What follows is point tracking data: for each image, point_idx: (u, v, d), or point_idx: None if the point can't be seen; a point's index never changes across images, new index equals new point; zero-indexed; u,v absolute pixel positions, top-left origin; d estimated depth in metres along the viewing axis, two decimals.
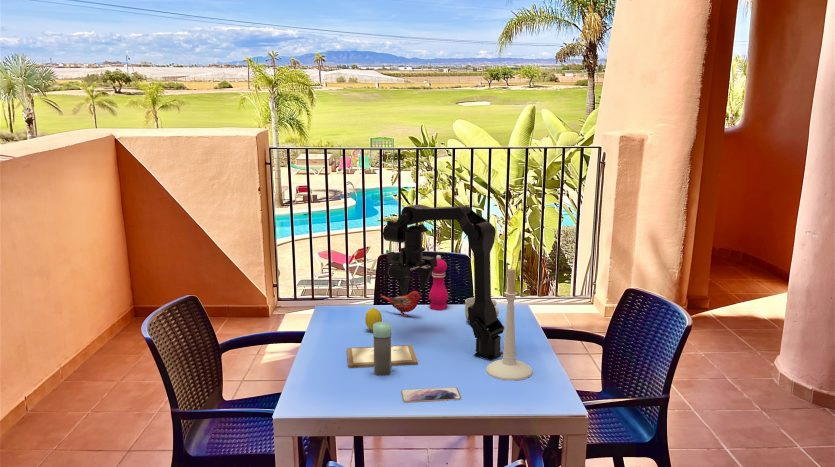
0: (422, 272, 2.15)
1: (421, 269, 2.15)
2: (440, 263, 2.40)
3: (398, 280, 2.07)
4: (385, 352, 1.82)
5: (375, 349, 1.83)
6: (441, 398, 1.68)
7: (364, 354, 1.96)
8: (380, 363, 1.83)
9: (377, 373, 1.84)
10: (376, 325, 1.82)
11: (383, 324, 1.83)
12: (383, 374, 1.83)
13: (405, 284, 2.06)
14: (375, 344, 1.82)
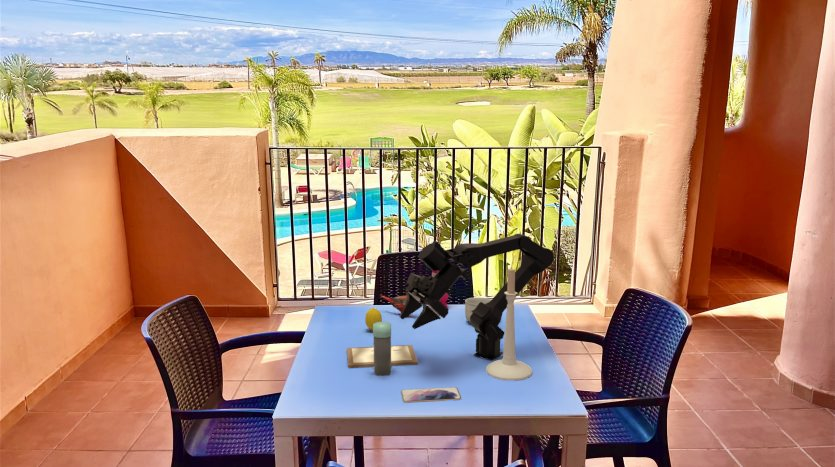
0: (413, 303, 1.91)
1: (414, 299, 1.91)
2: None
3: (425, 313, 1.81)
4: (385, 352, 1.82)
5: (375, 349, 1.83)
6: (441, 398, 1.68)
7: (364, 354, 1.96)
8: (380, 363, 1.83)
9: (377, 373, 1.84)
10: (376, 325, 1.82)
11: (383, 324, 1.83)
12: (383, 374, 1.83)
13: (429, 321, 1.82)
14: (375, 344, 1.82)
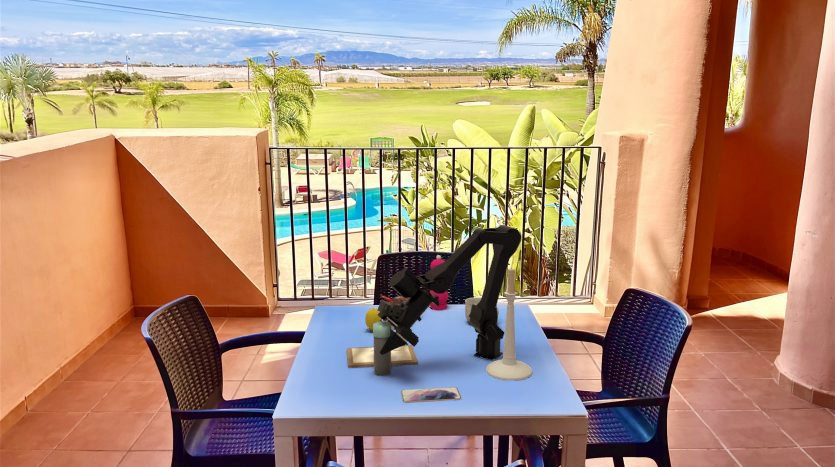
0: None
1: None
2: (440, 263, 2.40)
3: (392, 339, 1.80)
4: None
5: (375, 349, 1.83)
6: (441, 398, 1.68)
7: (364, 354, 1.96)
8: (380, 363, 1.83)
9: (377, 373, 1.84)
10: (376, 325, 1.82)
11: (383, 324, 1.83)
12: (383, 374, 1.83)
13: (396, 347, 1.81)
14: (375, 344, 1.82)
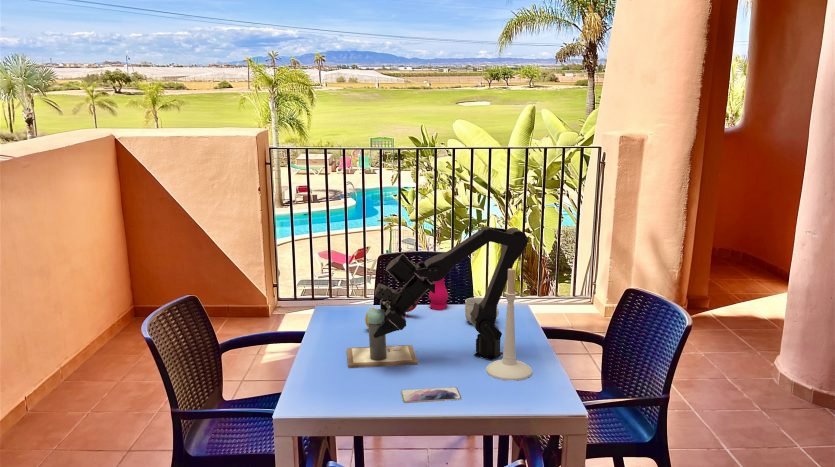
0: (385, 312, 1.97)
1: (385, 309, 1.97)
2: None
3: (384, 323, 1.86)
4: (378, 338, 1.90)
5: (369, 334, 1.91)
6: (441, 398, 1.68)
7: (364, 354, 1.96)
8: (373, 348, 1.91)
9: (371, 358, 1.92)
10: (370, 312, 1.91)
11: (377, 311, 1.91)
12: (377, 359, 1.91)
13: (389, 331, 1.86)
14: (369, 330, 1.91)
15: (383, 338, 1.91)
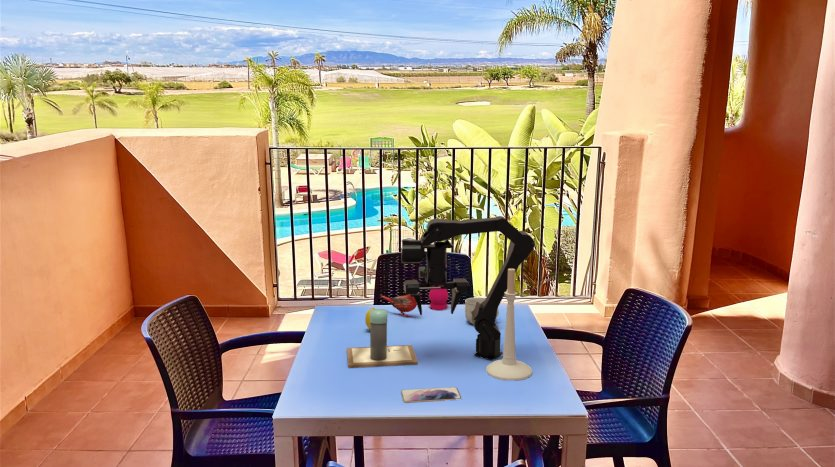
0: (453, 295, 1.95)
1: (453, 291, 1.95)
2: None
3: None
4: (379, 338, 1.90)
5: (370, 334, 1.92)
6: (441, 398, 1.68)
7: (364, 354, 1.96)
8: (374, 348, 1.91)
9: (371, 357, 1.92)
10: (372, 311, 1.91)
11: (380, 311, 1.91)
12: (376, 359, 1.91)
13: (416, 302, 1.92)
14: (371, 329, 1.91)
15: (384, 338, 1.91)
